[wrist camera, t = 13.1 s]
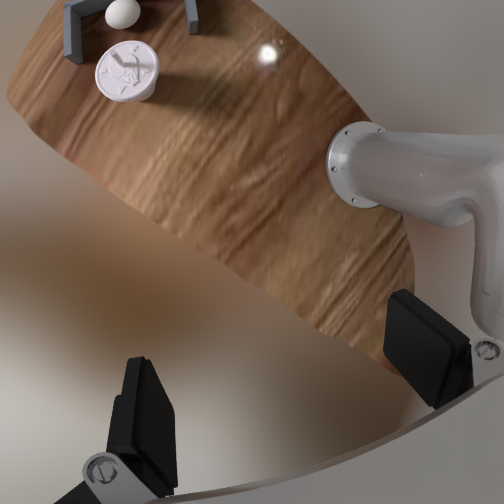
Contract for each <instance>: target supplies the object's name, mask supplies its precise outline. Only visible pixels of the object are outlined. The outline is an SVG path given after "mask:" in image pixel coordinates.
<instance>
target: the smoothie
mask: <svg viewBox="0 0 504 504" xmlns="http://www.w3.org/2000/svg"><path fill="white" fill-rule="evenodd" d="M159 67H160V65H159V60H158V57H157V55H156V53H155V52H154V50H153V49H152V48H151V47H150V46H148V45H147V44H145V43H143V42H140V41H125V42H121V43H119V44H116V45H114V46H113V47H111V48H110V49H109V50H107V51H106V52H105V53H104V55H103V56H102V57H101V59H100V60H99V62H98V65H97V68H96V73H95V78H96V83H97V86H98V88H99V89H100V91H101V92H102V93H103V94H104V95H105V96H106V97H108V98H110V99H112V100H115V101H120V102H122V101H131V100H134V101H143V100H146V99H148V98H149V97H150V96H151V95H152V94H153V92H154V90H155V82H156V80H157V77H158V74H159Z"/></svg>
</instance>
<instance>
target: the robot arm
mask: <svg viewBox="0 0 504 504" xmlns="http://www.w3.org/2000/svg"><path fill="white" fill-rule="evenodd" d="M345 132H346V135H345ZM331 168H333V170H332V171H331ZM326 172H327V176H328V180H329V182H330V185H331V187H332V189H333V190H334V192H335V193H336V194H337V195H338V196H339V197H340V198H341V199H342V200H343V201H345V202H346V203H348V204H350V205H352V206H355V207H359V208H370V207H375V206H377V205H379V204H381V205H384V206H386V207H389V208H392V209H394V210H397V211H400V212H402V213H405V214H407V215H410V216H413V217H415V218H417V219H420V220H423V221H425V222H428V223H430V224H433V225H436V226H439V227H445V228H449V227H456V226H459V225H461V224H463V223H466V222H467V221H469V220H470V219H472V218H474V223H475V251H474V265H473V274H472V284H471V295H470V307H471V314H472V317H473V320H474V322H475V323H476V325H477V326H478V328H479V329H480V330H481V331H483V332H484V333H485V334H486V335H488V336H490V337H492V338H494V339H496V340H499V341H503V342H504V133H501V134H489V135H455V134H436V133H413V132H412V133H411V132H387V131H386V130H385V129H384V128H383V127H381V126H379V125H377V124H375V123H372V122H364V121H362V122H355V123H351V124H349V125H347V126H345V127H343V128H342V129H341V130H340V131H338V132H337V134H336V135H335V136H334V138H333V139H332V141H331V143H330V145H329V148H328V151H327V156H326ZM469 341H470V339H469V338H468V337H467V336H466V335H464V334H463V333H462V332H461V331H459V330H458V329H457V328H455V327H454V326H453V325H452V324H451V323H449V322H448V321H447V320H446V319H444V318H443V317H442V316H440V315H439V314H438V313H437V312H435V311H434V310H433V309H431V308H430V307H429V306H427V305H426V304H425V303H424V302H422V301H421V300H420V299H418V298H417V297H416V296H414V295H413V294H412V293H410V292H409V291H408V290H406V289H402V290H399V291H396V292H393V293H392V294H391V296H390V298H389V299H388V305H387V318H386V328H385V338H384V346H383V351H384V354H385V356H386V357H387V359H388V360H389V361H390V362H391V363H392V364H393V365H394V367H395V368H396V369H397V370H398V371H399V372H400V373H401V375H402V376H403V377H404V378H405V379H406V380H407V382H408V383H409V384H410V385H411V386H412V387H413V388H414V390H415V391H416V392H417V393H418V394H419V395H420V397H421V398H422V399H423V400H424V401H425V403H426V404H427V405H428V406H430V407H431V406H432V407H433V408H434V409H435V410H436V411H434V412H432V413H430V414H429V415H427V416H425V417H423V418H422V419H420V420H418V421H416V422H414V423H412V424H410V425H408V426H406V427H405V428H403V429H401V430H399V431H396V432H394V433H392V434H390V435H388V436H386V437H384V438H382V439H380V440H377V441H375V442H373V443H371V444H369V445H366V446H364V447H362V448H359V449H357V450H354V451H352V452H349V453H347V454H344V455H341V456H339V457H336V458H333V459H331V460H328V461H325V462H322V463H319V464H316V465H313V466H310V467H307V468H304V469H301V470H297V471H294V472H290V473H287V474H283V475H280V476H276V477H272V478H268V479H264V480H260V481H255V482H251V483H247V484H241V485H237V486H232V487H227V488H221V489H216V490H209V491H203V492H196V493H189V494H183V495H176V496H171V495H174V488H176V487H178V479H177V462H176V441H175V414H174V409H173V406H172V404H171V402H170V401H169V398H168V396H167V394H166V393H165V390H164V388H163V386H162V384H161V382H160V380H159V378H158V376H157V374H156V372H155V369H154V367H153V365H152V363H151V361H150V360H149V359H147V360H146V359H145V358H144V357H143V356H141V357H136V358H129V359H128V361H127V366H126V372H125V377H124V382H123V387H122V392H121V395H117V396H116V397H115V400H114V406H113V411H112V417H111V422H110V429H109V435H108V441H107V449H106V453H105V452H102V453H98V454H95V455H93V456H91V457H90V458H89V459H88V460H87V461H86V463H85V465H84V467H83V477H84V481H83V482H81V483H80V484H79V485H78V486H76V487H75V488H74V489H72V490H71V491H70V492H68V493H67V494H66V495H65V496H63V497H62V498H61V499H59V500H58V501H57V502H55V503H54V504H504V351H503V348H502V346H501V345H500V344H499V343H498V342H496V341H495V340H492V339H488V338H483V339H479V340H476V341H475V342H474V343H473V344H472V345H470V344H469ZM165 496H169V497H165Z"/></svg>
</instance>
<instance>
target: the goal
mask: <svg viewBox="0 0 504 504" xmlns="http://www.w3.org/2000/svg"><path fill="white" fill-rule="evenodd" d="M114 1H116V0H70V1H67V2H65V3H64V4H63V40H64V57H66V58H67V59H69V60H70V61H72V62H73V63H75V64H76V65H77V64H80V63H82V62H83V54H82V37H81V17H84V16H87V15H90V14H93V13H96V12H99V11H102V10H105V9H107V8H108V7H109V5H110V4H111V3H113V2H114ZM135 1H137V0H135ZM184 2H185V9H186V16H187V23H188V29H189V35H190V34H196V33H197V29H198V15H197V9H196V2H195V0H184Z"/></svg>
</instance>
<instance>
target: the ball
mask: <svg viewBox="0 0 504 504" xmlns="http://www.w3.org/2000/svg"><path fill="white" fill-rule="evenodd" d="M140 11H141V10H140V6H139V4H138V3H137V1H135V0H116V1H114V2H113V3H111V4H110V5H109V7H108V8H107V10H106V14H105V19H106V22H107V23H108V25H109V26H111V27H112V28H115V29H125V28H128V27H130V26H132V25H133V24H134V23H135V22H136V21H137V20H138V18H139V16H140Z"/></svg>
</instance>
